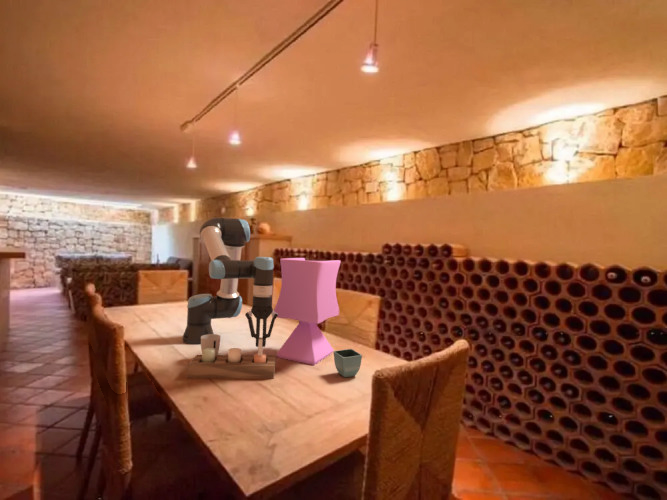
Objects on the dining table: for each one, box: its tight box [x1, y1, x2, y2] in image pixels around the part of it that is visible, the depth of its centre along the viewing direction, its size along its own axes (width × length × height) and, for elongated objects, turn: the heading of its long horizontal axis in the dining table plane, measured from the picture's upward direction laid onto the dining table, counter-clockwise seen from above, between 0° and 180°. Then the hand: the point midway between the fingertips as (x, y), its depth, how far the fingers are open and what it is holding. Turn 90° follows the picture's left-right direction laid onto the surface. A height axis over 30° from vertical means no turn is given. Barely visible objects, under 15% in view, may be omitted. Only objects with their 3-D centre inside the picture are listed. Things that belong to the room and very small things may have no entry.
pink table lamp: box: [273, 257, 341, 366], centre depth 158 cm, size 22×22×45 cm
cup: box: [200, 333, 221, 355], centre depth 147 cm, size 8×8×10 cm
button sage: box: [201, 348, 215, 363], centre depth 133 cm, size 5×5×5 cm
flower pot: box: [333, 348, 363, 378], centre depth 136 cm, size 9×9×9 cm
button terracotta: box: [253, 353, 267, 363], centre depth 135 cm, size 5×5×5 cm
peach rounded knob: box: [227, 347, 242, 363], centre depth 134 cm, size 5×5×5 cm
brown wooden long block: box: [186, 354, 277, 380], centre depth 134 cm, size 12×32×5 cm, turn 96°
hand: (260, 354), depth 135 cm, fingers closed
